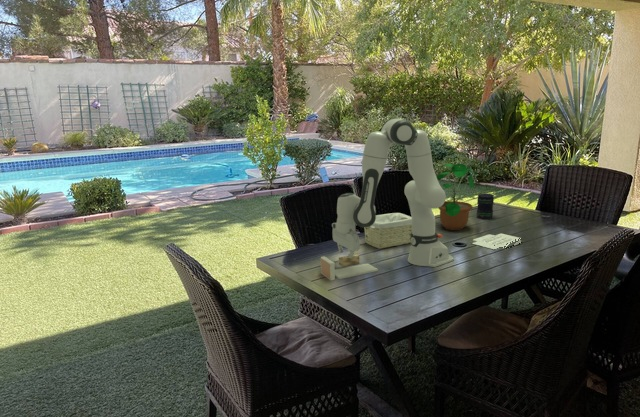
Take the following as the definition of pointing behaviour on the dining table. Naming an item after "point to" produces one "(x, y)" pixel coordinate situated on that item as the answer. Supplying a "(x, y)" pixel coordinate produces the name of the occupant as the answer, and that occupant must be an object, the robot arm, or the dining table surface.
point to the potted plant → (455, 211)
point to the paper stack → (495, 241)
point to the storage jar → (485, 206)
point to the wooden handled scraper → (347, 261)
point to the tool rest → (354, 271)
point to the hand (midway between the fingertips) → (345, 255)
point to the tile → (328, 268)
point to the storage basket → (389, 230)
